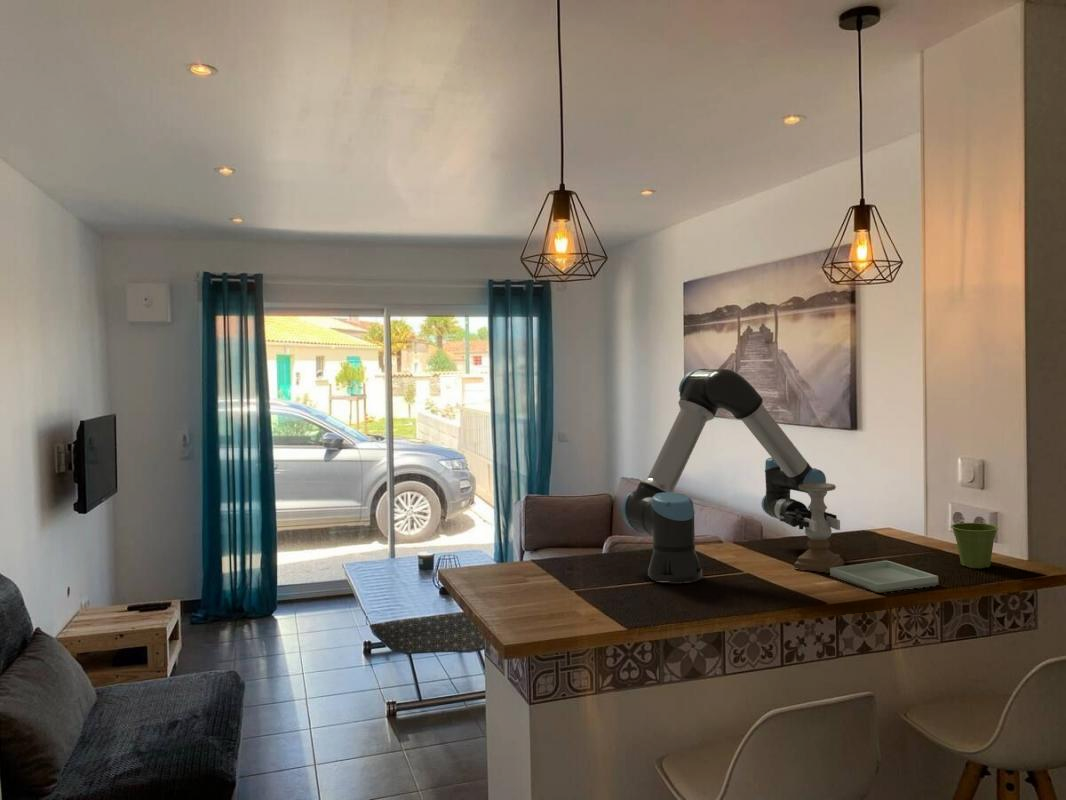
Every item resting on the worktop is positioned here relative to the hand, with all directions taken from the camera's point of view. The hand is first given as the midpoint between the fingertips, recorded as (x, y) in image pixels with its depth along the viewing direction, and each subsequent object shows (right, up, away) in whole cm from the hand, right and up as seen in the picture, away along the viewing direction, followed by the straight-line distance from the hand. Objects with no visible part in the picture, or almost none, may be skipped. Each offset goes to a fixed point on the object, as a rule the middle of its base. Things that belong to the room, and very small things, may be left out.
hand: (827, 525), depth 234 cm
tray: (+11, -13, -11) cm, 20 cm away
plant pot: (+42, -12, +1) cm, 44 cm away
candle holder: (0, -13, +6) cm, 14 cm away
